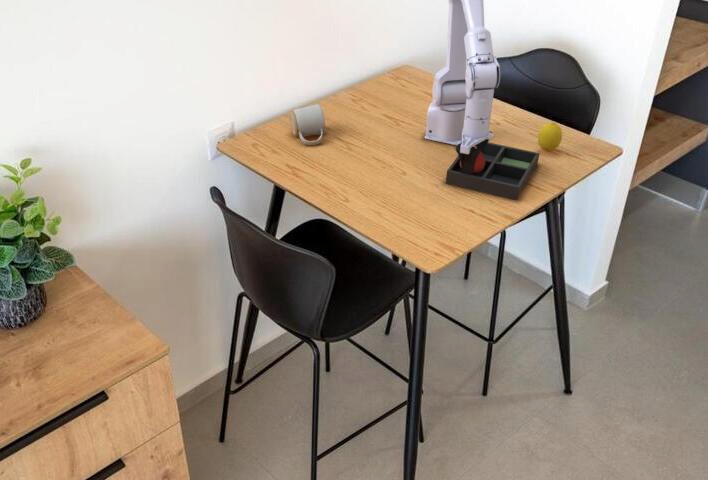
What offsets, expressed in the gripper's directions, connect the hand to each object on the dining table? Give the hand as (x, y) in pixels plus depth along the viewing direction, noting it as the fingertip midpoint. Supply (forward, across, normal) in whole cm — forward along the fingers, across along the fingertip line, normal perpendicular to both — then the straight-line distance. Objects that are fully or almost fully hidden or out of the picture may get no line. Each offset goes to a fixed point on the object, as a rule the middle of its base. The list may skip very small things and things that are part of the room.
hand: (471, 166), depth 180 cm
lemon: (+3, +20, -13) cm, 25 cm away
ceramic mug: (+3, +2, +44) cm, 45 cm away
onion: (+3, 0, 0) cm, 3 cm away
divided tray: (+3, +4, -4) cm, 7 cm away
